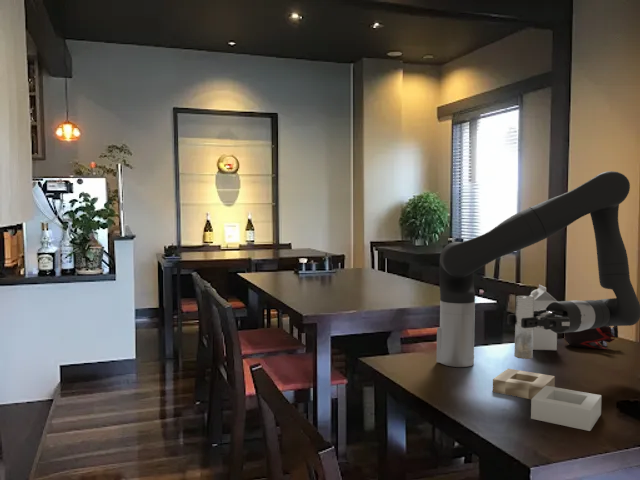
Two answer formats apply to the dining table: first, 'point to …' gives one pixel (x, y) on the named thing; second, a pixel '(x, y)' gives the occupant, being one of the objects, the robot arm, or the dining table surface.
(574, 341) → the toy
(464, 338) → the robot arm
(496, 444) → the dining table surface
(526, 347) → the steel peg
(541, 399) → the grey socket
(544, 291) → the milk carton
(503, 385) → the maple socket
